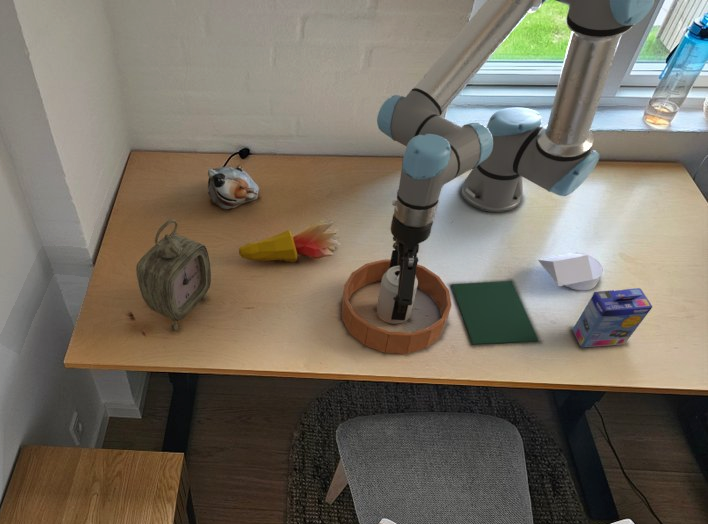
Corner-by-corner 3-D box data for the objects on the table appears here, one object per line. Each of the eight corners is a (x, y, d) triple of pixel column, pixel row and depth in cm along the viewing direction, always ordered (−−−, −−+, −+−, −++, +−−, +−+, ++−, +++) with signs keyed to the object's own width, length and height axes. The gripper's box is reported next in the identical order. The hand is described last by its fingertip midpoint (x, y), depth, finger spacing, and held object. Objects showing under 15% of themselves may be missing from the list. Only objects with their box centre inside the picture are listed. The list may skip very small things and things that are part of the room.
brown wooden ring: (342, 276, 142) (344, 257, 137) (439, 280, 140) (444, 261, 136) (341, 350, 128) (344, 332, 123) (450, 356, 126) (456, 337, 121)
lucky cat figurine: (267, 189, 164) (270, 165, 151) (246, 225, 162) (247, 204, 149) (220, 164, 165) (218, 138, 152) (198, 200, 163) (195, 176, 149)
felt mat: (451, 285, 139) (451, 284, 139) (511, 282, 139) (511, 280, 139) (472, 345, 127) (472, 343, 127) (538, 341, 128) (538, 340, 127)
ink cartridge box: (581, 349, 126) (610, 302, 115) (570, 329, 129) (597, 281, 118) (627, 345, 126) (660, 298, 115) (614, 326, 130) (646, 277, 119)
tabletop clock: (176, 338, 131) (158, 252, 112) (144, 323, 134) (121, 237, 115) (214, 297, 139) (203, 210, 120) (182, 283, 142) (167, 196, 123)
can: (412, 305, 135) (422, 266, 126) (406, 329, 131) (416, 291, 122) (379, 298, 137) (386, 259, 128) (372, 322, 132) (379, 283, 123)
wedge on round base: (553, 296, 136) (605, 286, 137) (564, 275, 131) (617, 264, 132) (532, 270, 141) (583, 260, 143) (542, 248, 136) (594, 238, 138)
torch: (243, 270, 150) (341, 247, 149) (244, 278, 142) (347, 255, 142) (236, 238, 147) (335, 215, 146) (237, 245, 139) (342, 221, 139)
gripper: (390, 176, 121) (376, 255, 137) (396, 260, 105) (380, 338, 121) (427, 178, 121) (409, 257, 137) (440, 262, 105) (418, 340, 121)
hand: (396, 295), depth 129 cm, fingers open, 13 cm apart
